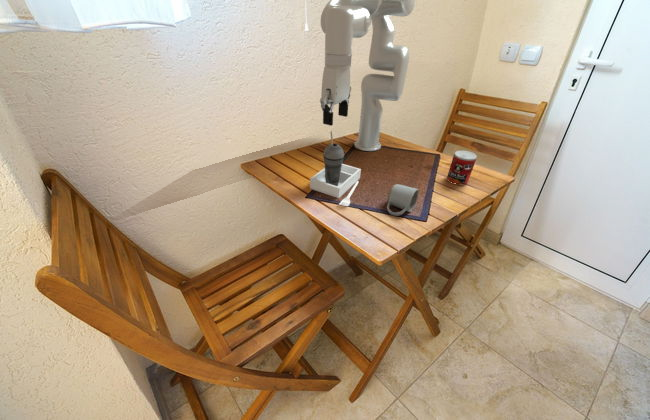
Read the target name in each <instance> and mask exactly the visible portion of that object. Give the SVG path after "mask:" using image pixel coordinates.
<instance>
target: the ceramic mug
mask: <svg viewBox="0 0 650 420" xmlns="http://www.w3.org/2000/svg"><path fill="white" fill-rule="evenodd" d="M389 189H390V190H389V191H388V195H387V202H388V203H387V204H386V205H387V206H386V209H387V212H388V213H389V215H391V216H394V217H395V216H396V217H398V216H401V215H403V214H404V213H405V212H408V213H409V212H412V211H413V210H412V209H414V208H415V207H416V203H417V202H418V198H419V193H420V192H419V189H418V188H415V187H410V186H407V185H403V184H397V183H396V184H393V185H391V187H390V188H389ZM390 206H393V207H396V208H398V209H401V211H397V212H393V211H392V210H391V209H390Z"/></svg>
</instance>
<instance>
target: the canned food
mask: <svg viewBox="0 0 650 420" xmlns="http://www.w3.org/2000/svg"><path fill="white" fill-rule="evenodd" d="M477 157H478V156H477V154H475V153H474V152H473V151H468V150H457V151H455V152H454V154H453V157H452V159H451V162H450V167H449V169H448V173H447V177H446V178H447V179H448V180H449V181H450V182H452V183H456V184H465V185H466V184H467V183H468V182H469V180H470V178H471V174H472V173H473V172H472V171H473V168H474V166H475V163H476V160H477V159H478V158H477ZM447 179H446V180H447ZM448 180H447V181H448ZM449 181H448V182H449ZM450 182H449V183H450ZM452 183H451V184H452Z"/></svg>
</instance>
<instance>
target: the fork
mask: <svg viewBox="0 0 650 420" xmlns="http://www.w3.org/2000/svg"><path fill="white" fill-rule="evenodd" d="M359 182H360V181H359V180H358V181H357V182H356V183H355V184H353V187H351V189H350V191H349V192H348V195H347V196H346V197H344V198H343V199H342V200H341V201H340V202H339V203H338V205H339V206H345V207H349V206H350V204H351V199H350V198H351V197H352V195H353V193H354V192H355V190H356V187H357V186H358V184H359Z"/></svg>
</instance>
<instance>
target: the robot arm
mask: <svg viewBox="0 0 650 420" xmlns="http://www.w3.org/2000/svg"><path fill="white" fill-rule="evenodd" d="M415 3H416V0H329V1H328V2H327V4H326V5H325V6H324V7H323V10H322V12H321V15H320V27H321V30H322V32H323V33H324V36H325V37H324V38H325V39H324V67H323V73H322V80H321V81H322V82H321V97H320V99H319V102H320V107H321V111H322V123H323V125H327V126H333V124H334V111H333V110H334V107H335V105H337V104H338V116H339V117H346V118H347V117H348V115H349V114H348V113H349V103H350V97H351V91H352V86H351V66H352V55H353V54H352V53H353V40H354V39H360V38H363V37H365V36H366V35H367V34H368V32H369V31H370V28H371V26H372V35H371V43H370V48H369V56H368V66H369V68H370V69H371V70H375V71H379V72H380V71H381V72H391V73H393V75H388V74H381V73H368V74H366V75H364V77H362V80H361V82H360V83H361V84H360V90H361V91H360V92H361V108H360V114H359V115H360V116H359V118H360V119H359V126H358V135H357V136H358V137H357V140H356V141H354V144H353V145H354V147H355V148H356V149H357V150H360V151H365V152H376V151H379V150H380V149H381V147H382V144H381V143H380V142H379V139H380V136H381V134H380V132H381V126H382V125H381V123H382V116H383V113H384V112H383V105H382V103H381V101H380V100H383V101H389V102H397V101H399V100H400V99H401V97H402V94H403V91H404V87H405V82H406V76H407V72H408V68H409V61H410V50H409V48H408V46H406V45H399V44H394V38H395V37H394V36H395V34H396V33H395V27H394V24H393V21H392V19H391V18H390V17H401V18H402V17H408V16H409V15H410V14H412V12H413V10H414V8H415Z"/></svg>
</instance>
